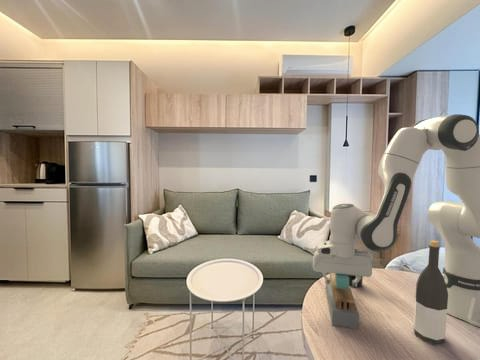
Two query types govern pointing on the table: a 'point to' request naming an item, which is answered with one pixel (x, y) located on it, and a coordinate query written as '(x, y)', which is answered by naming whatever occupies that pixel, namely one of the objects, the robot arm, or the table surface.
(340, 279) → the mint green cube
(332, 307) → the dock
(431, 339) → the wine bottle
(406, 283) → the table surface
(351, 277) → the supplement bottle
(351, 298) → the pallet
